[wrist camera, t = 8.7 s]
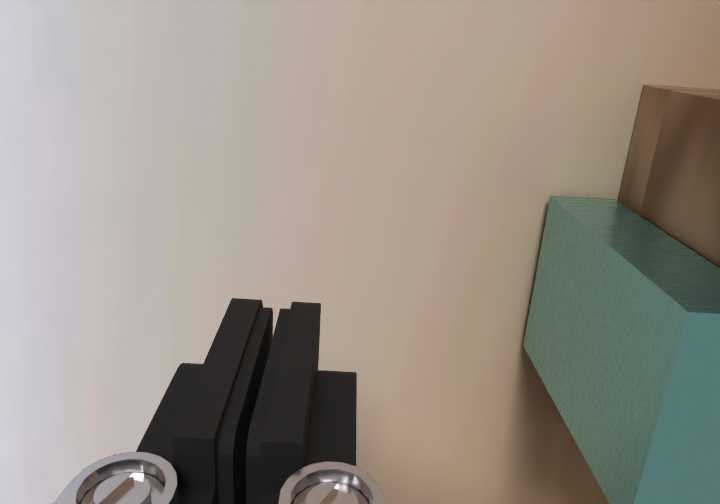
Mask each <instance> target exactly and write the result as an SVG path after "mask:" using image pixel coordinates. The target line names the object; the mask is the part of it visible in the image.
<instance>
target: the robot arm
mask: <svg viewBox="0 0 720 504" xmlns="http://www.w3.org/2000/svg"><path fill="white" fill-rule="evenodd" d="M320 313H321V303H305V302H292V305H291V309H280V312H279V316H278V320H277V324H276V328H275V331H274V335H273V310H272V308H263V305H262V300H252V299H235V298H232V300H231V302H230V304H229V306H228V309H227V311H226V313H225V316H224V318H223V320H222V322H221V325H220V327H219V329H218V332H217V334H216V336H215V339H214V341H213V343H212V346H211V348H210V350H209V352H208V355H207V357H206V359H205V362H204V364H191V363H182V364H180V366H179V367H178V369H177V371H176V373H175V375H174V377H173V379H172V381H171V383H170V385H169V387H168V389H167V391H166V393H165V395H164V397H163V399H162V401H161V403H160V405H159V407H158V409H157V411H156V413H155V415H154V417H153V419H152V421H151V423H150V425H149V427H148V429H147V431H146V433H145V435H144V437H143V439H142V441H141V443H140V445H139V447H138V449H137V451H136V452H127V453H120V454H114V455H112V456H109V457H106V458H103V459H101V460H98V461H96V462H95V463H93V464H91V465H90V466H88V467H86V468H85V469H83V470H82V471H81V472H80V473H79V474H78V475H77V476H76V477H75V478H74V479H73V480H72V481H71V482H70V483H69V484H68V486H67V487H66V488H65V489H64V490H63V492H62V493H61V494H60V495H59V496H58V498H57V499H56V500H55V501H54V503H53V504H386V502H385V498H384V495H383V493H382V490H381V488H380V486H379V484H378V483H377V482H376V481H375V480H374V479H373V477H372V476H371V475H370V474H368V473H367V472H365V471H363V470H362V469H360V468H358V467H356V372H338V371H319V370H318V358H319V336H320Z"/></svg>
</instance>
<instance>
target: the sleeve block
mask: <svg viewBox="0 0 720 504" xmlns="http://www.w3.org/2000/svg"><path fill="white" fill-rule="evenodd" d="M618 202H619V203H620V204H622V205H624V206H625V207H627V208H628V209H630V210H631V211H633V212H634V213H636V214H637V215H639V216H640V217H642V218H643V219H645V220H647V221H648V222H650V223H651V224H653V225H654V226H656V227H657V228H659V229H660V230H662V231H663V232H665V233H666V234H668V235H670V236H671V237H673V238H674V239H676V240H677V241H679V242H680V243H682V244H683V245H685V246H686V247H688V248H689V249H691V250H692V251H694V252H696V253H697V254H699V255H700V256H702V257H703V258H705V259H706V260H708V261H709V262H711V263H712V264H714V265H715V266H717V267H719V268H720V90H713V89H698V88H683V87H668V86H653V85H644V86H643V91H642V95H641V100H640V104H639V109H638V113H637V118H636V122H635V127H634V131H633V136H632V140H631V145H630V149H629V154H628V158H627V163H626V167H625V172H624V176H623V181H622V185H621V190H620V194H619V199H618Z"/></svg>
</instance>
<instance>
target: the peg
mask: <svg viewBox="0 0 720 504" xmlns="http://www.w3.org/2000/svg"><path fill="white" fill-rule="evenodd" d="M523 346H524V348H525V350H526V352H527V354H528V356H529V357H530V359H531V361H532V363H533V365H534V367H535V368H536V370H537V372H538V374H539V376H540V378H541V379H542V381H543V383H544V385H545V387H546V389H547V391H548V392H549V394H550V396H551V398H552V400H553V402H554V403H555V405H556V407H557V409H558V411H559V413H560V414H561V416H562V418H563V420H564V422H565V424H566V426H567V427H568V429H569V431H570V433H571V435H572V437H573V438H574V440H575V442H576V444H577V446H578V448H579V449H580V451H581V453H582V455H583V457H584V459H585V461H586V462H587V464H588V466H589V468H590V470H591V472H592V473H593V475H594V477H595V479H596V481H597V483H598V484H599V486H600V488H601V490H602V492H603V494H604V496H605V497H606V499H607V501H608V503H609V504H720V268H719V267H717V266H715V265H714V264H712V263H711V262H709V261H708V260H706V259H705V258H703V257H702V256H700V255H699V254H697V253H696V252H694V251H692V250H691V249H689V248H688V247H686V246H685V245H683V244H682V243H680V242H679V241H677V240H676V239H674V238H673V237H671V236H670V235H668V234H666V233H665V232H663V231H662V230H660V229H659V228H657V227H656V226H654V225H653V224H651V223H650V222H648V221H647V220H645V219H643V218H642V217H640V216H639V215H637V214H636V213H634V212H633V211H631V210H630V209H628V208H627V207H625V206H624V205H622V204H620V203H619V202H617V201H616V200H613V199H596V198H579V197H563V196H550V200H549V205H548V211H547V216H546V222H545V227H544V233H543V238H542V244H541V249H540V255H539V260H538V266H537V272H536V277H535V283H534V288H533V294H532V299H531V305H530V310H529V316H528V321H527V327H526V332H525V338H524V343H523Z"/></svg>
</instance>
